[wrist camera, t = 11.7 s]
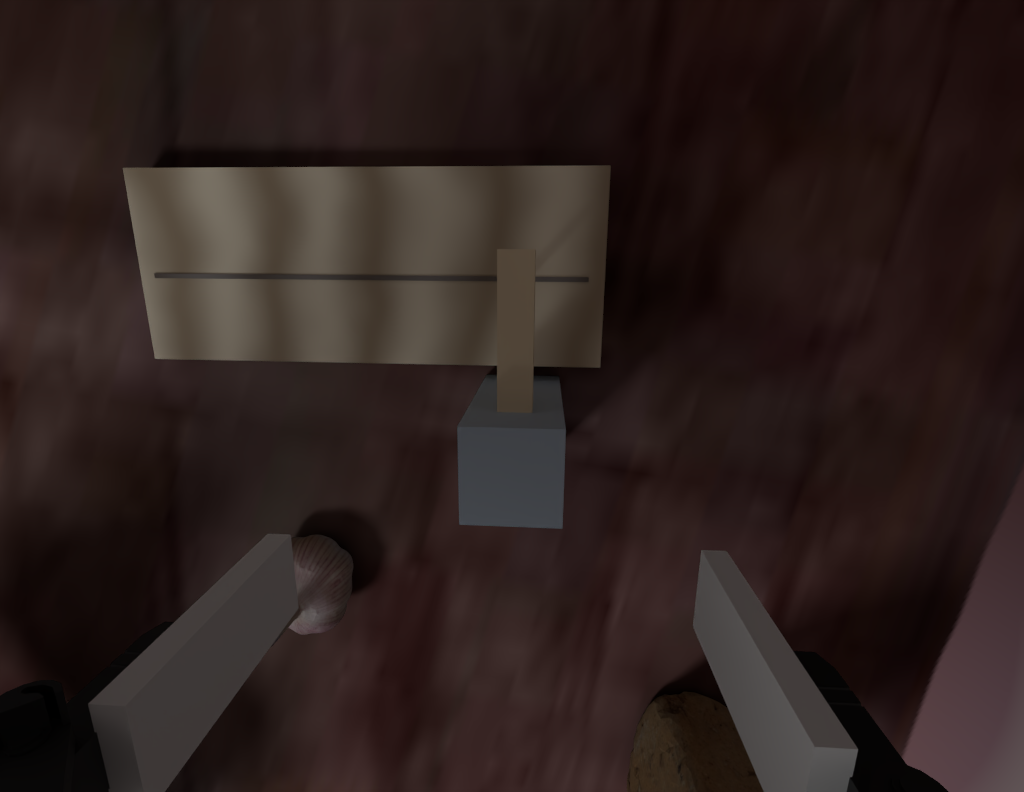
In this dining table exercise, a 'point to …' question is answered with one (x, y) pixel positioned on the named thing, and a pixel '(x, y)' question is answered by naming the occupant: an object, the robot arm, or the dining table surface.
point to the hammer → (513, 419)
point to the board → (367, 261)
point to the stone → (689, 748)
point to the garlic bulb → (319, 584)
